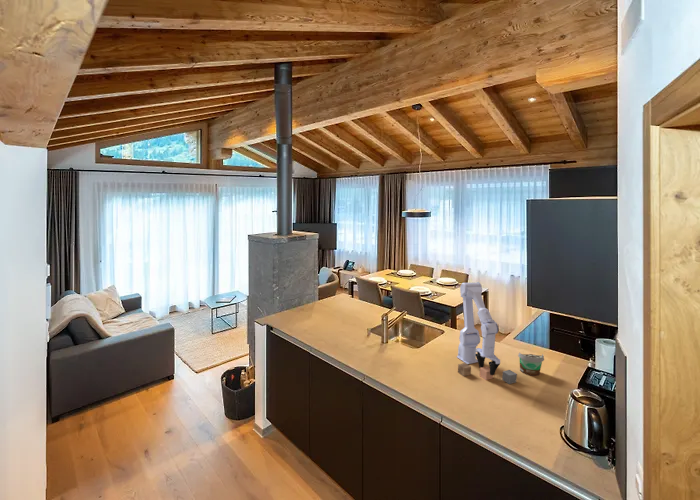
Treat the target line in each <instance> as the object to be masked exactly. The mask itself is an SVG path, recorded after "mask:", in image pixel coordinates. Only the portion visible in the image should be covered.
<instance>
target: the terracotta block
mask: <svg viewBox="0 0 700 500" xmlns="http://www.w3.org/2000/svg"><path fill="white" fill-rule="evenodd" d="M479 377H481V378H482V379H484V380H485V381H489V380H492V379H494V375H490V366H484V367H481V368H479Z"/></svg>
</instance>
